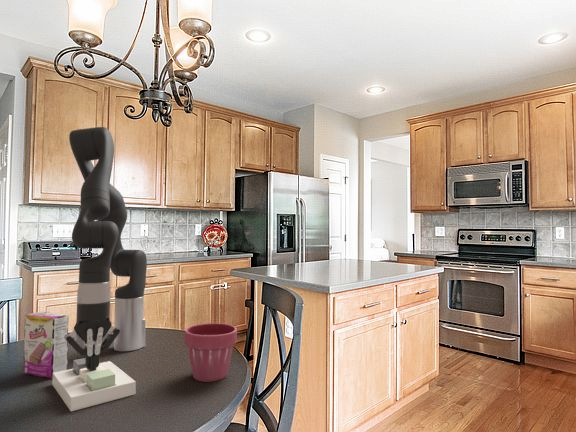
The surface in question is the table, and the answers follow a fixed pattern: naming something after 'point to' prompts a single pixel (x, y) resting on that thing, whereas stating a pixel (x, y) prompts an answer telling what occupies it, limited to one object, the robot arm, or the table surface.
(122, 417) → the table surface
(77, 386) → the white slotted tray
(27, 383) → the table surface
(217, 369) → the plant pot
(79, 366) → the charcoal key
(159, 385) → the table surface
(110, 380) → the sage key
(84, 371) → the ivory key
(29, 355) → the candy bar box
